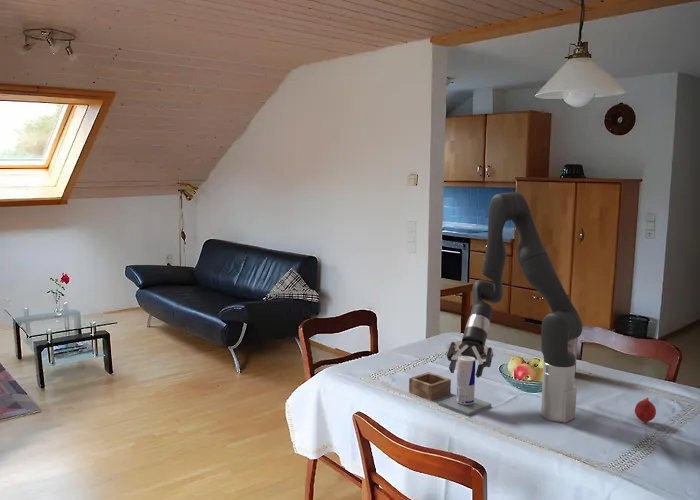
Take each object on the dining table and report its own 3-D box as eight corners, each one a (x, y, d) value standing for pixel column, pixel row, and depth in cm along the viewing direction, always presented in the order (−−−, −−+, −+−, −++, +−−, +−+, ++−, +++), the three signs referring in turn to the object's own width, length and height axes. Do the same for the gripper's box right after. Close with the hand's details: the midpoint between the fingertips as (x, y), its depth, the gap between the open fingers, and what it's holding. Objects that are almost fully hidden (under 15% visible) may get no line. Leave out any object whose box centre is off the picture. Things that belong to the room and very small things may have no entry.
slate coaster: (491, 406, 197) (491, 403, 196) (467, 416, 189) (467, 413, 189) (461, 396, 206) (461, 393, 205) (438, 404, 198) (438, 401, 198)
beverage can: (474, 406, 194) (475, 361, 192) (456, 405, 195) (457, 359, 193) (474, 400, 199) (475, 355, 197) (456, 398, 200) (458, 354, 198)
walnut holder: (450, 393, 208) (450, 379, 207) (430, 400, 201) (431, 386, 201) (428, 385, 215) (428, 372, 215) (408, 392, 209) (409, 378, 208)
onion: (654, 428, 180) (655, 402, 179) (632, 424, 184) (634, 398, 182) (656, 421, 185) (657, 396, 184) (635, 417, 188) (637, 392, 187)
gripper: (453, 322, 204) (440, 365, 195) (495, 328, 197) (484, 372, 189) (458, 334, 209) (445, 376, 201) (499, 340, 202) (488, 383, 194)
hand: (464, 374), depth 195 cm, fingers open, 8 cm apart
